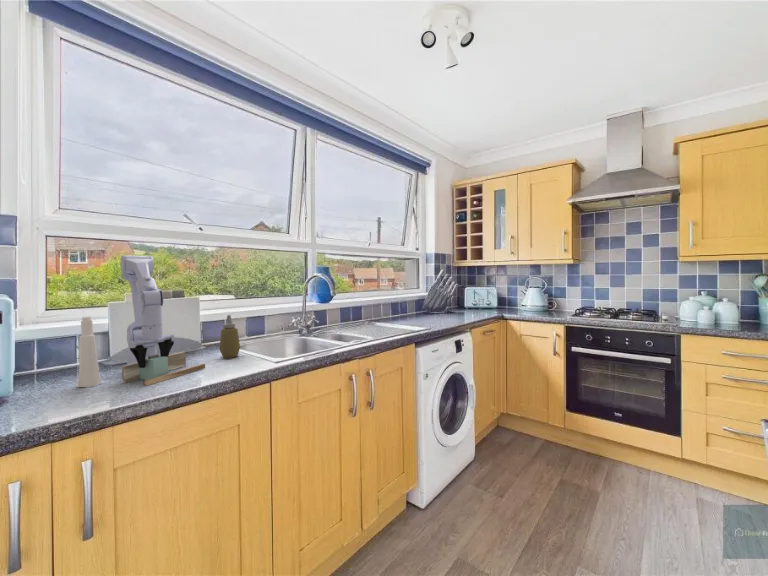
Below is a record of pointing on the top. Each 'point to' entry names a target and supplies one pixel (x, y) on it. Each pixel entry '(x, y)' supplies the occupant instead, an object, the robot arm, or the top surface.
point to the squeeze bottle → (229, 339)
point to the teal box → (154, 367)
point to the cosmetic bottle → (88, 356)
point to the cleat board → (174, 362)
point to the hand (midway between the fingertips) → (153, 364)
